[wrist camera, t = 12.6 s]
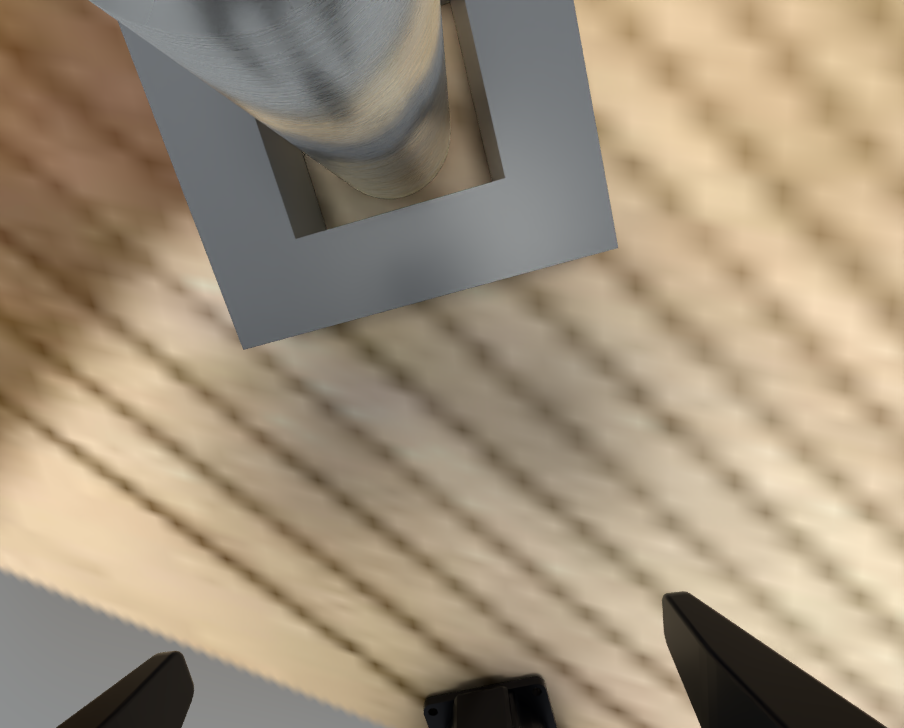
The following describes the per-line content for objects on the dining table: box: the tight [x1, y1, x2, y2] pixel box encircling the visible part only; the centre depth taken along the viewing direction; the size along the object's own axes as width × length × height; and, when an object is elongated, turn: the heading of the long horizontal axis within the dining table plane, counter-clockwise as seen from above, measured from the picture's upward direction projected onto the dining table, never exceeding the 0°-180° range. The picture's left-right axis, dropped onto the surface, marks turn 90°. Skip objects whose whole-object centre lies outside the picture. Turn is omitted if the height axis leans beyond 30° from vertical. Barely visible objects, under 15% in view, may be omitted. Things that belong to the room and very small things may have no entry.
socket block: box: [118, 0, 618, 350], centre depth 15 cm, size 13×13×4 cm
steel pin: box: [89, 0, 451, 199], centre depth 11 cm, size 5×5×13 cm
